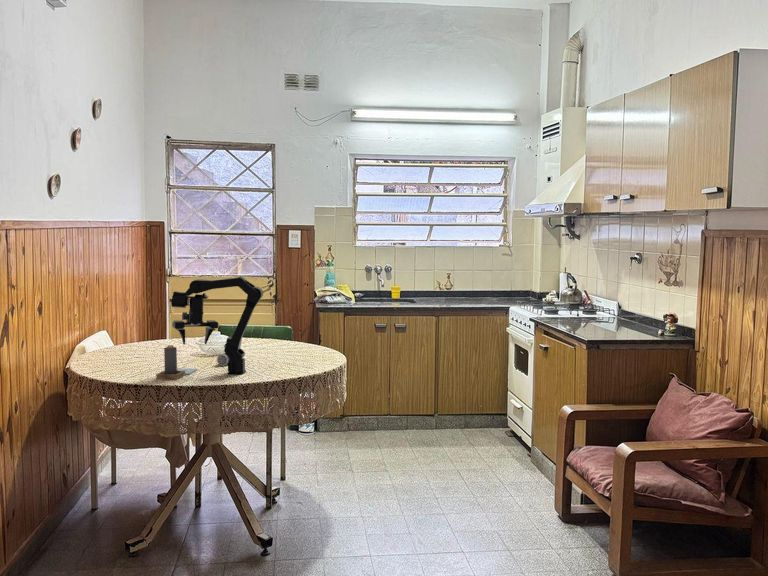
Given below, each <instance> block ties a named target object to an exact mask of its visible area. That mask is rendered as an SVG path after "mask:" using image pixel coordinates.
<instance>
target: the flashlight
mask: <svg viewBox="0 0 768 576" xmlns="http://www.w3.org/2000/svg"><path fill="white" fill-rule="evenodd" d="M216 361H217V364H218V365H220V366H221V367H222V366H224V367H225V366H228V362H229V357H228V356H227V355H226V354H225V352H224V353H221V354H218V356H217V357H216Z"/></svg>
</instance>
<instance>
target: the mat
mask: <svg viewBox="0 0 768 576" xmlns="http://www.w3.org/2000/svg"><path fill="white" fill-rule="evenodd" d="M177 370H181V371H185V376H190V375H191V374H194V373H195V372H197V371H198V368H179V367H177Z"/></svg>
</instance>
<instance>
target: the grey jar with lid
mask: <svg viewBox="0 0 768 576" xmlns="http://www.w3.org/2000/svg"><path fill="white" fill-rule="evenodd" d="M177 348H178V347H176V346H174V344H173V345H172V344H171V345H170V344H169V345H167V347H164V348H163V351H164V355H163V357H164V358H163V359H164V370H165V374H177V368H178V358H177V357H178V352H177V350H178V349H177Z"/></svg>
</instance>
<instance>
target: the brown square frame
mask: <svg viewBox="0 0 768 576" xmlns="http://www.w3.org/2000/svg"><path fill="white" fill-rule="evenodd" d="M155 376H156V378H155V379H156V380H175V381H177V380H179V379H181V378H183V377H185V376H186V375H185V371H181V370H177V374H165V369H164V370H162V371H160V372H158V373H156V375H155Z"/></svg>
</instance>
